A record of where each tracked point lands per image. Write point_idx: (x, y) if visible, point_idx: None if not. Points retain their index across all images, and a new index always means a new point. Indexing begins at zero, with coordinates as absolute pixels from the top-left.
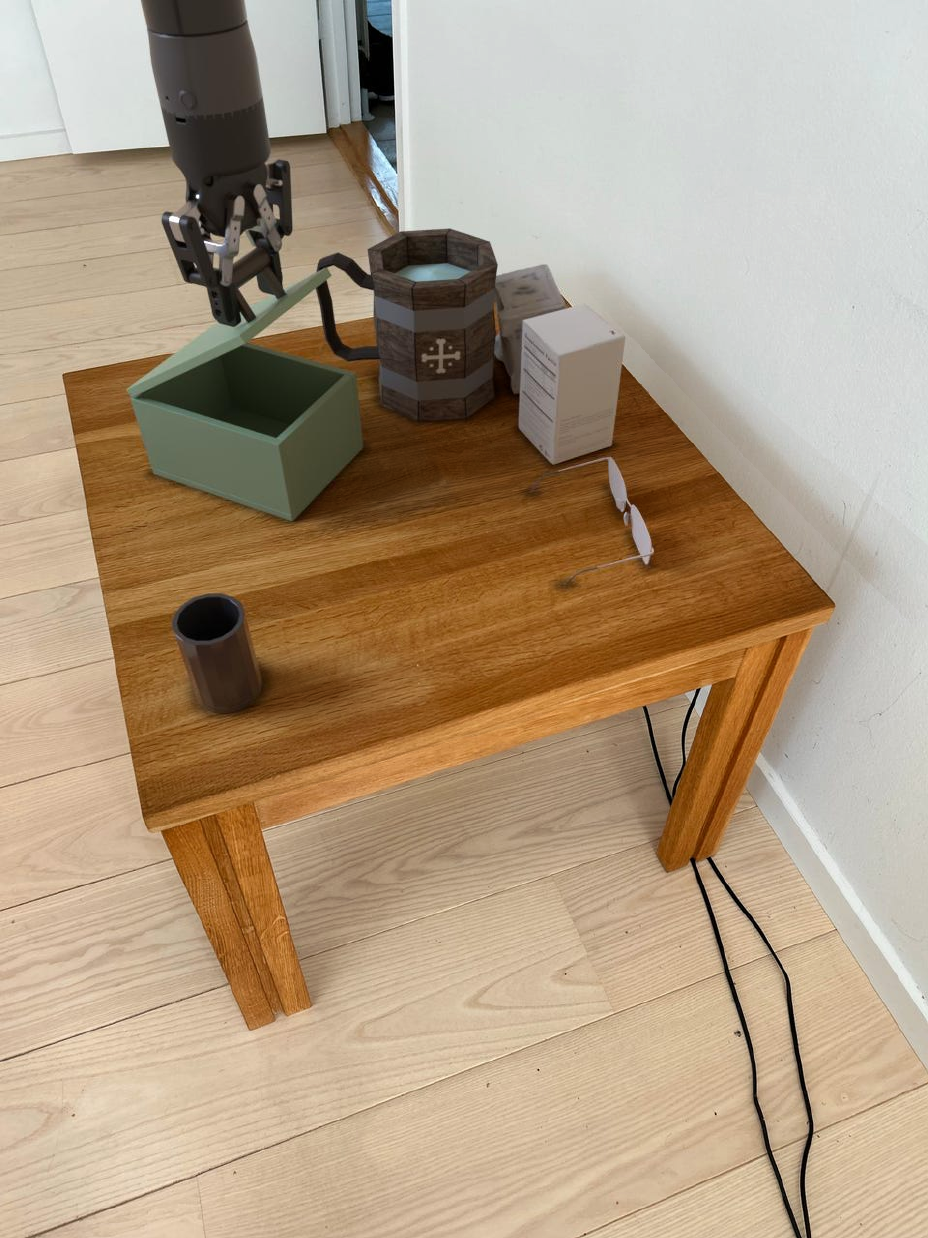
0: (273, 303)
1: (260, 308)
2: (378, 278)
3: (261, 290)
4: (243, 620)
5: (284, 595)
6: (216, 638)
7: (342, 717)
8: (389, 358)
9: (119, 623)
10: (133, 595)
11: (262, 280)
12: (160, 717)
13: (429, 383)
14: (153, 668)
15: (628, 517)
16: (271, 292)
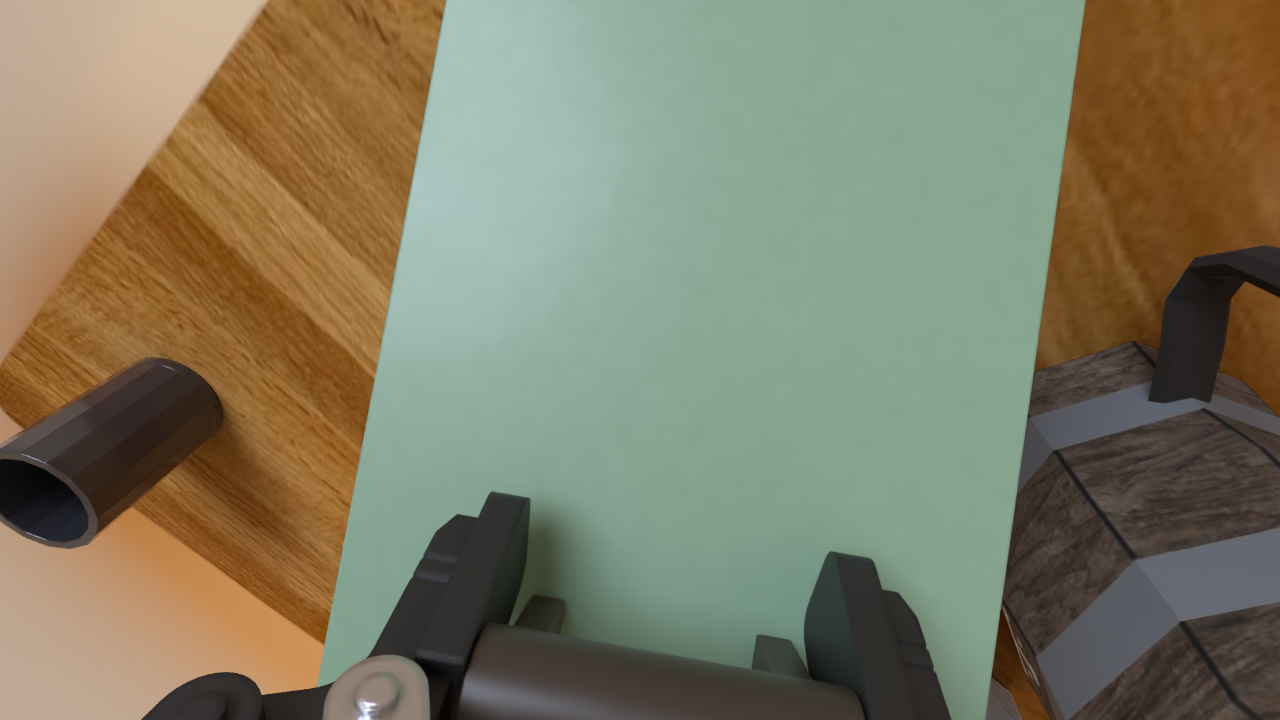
0: (696, 647)
1: (763, 519)
2: (1198, 711)
3: (827, 557)
4: (75, 547)
5: (369, 403)
6: (17, 528)
7: (234, 539)
8: (1043, 502)
9: (148, 163)
10: (214, 147)
11: (831, 613)
12: (71, 335)
13: None
14: (123, 278)
15: None
16: (811, 602)
